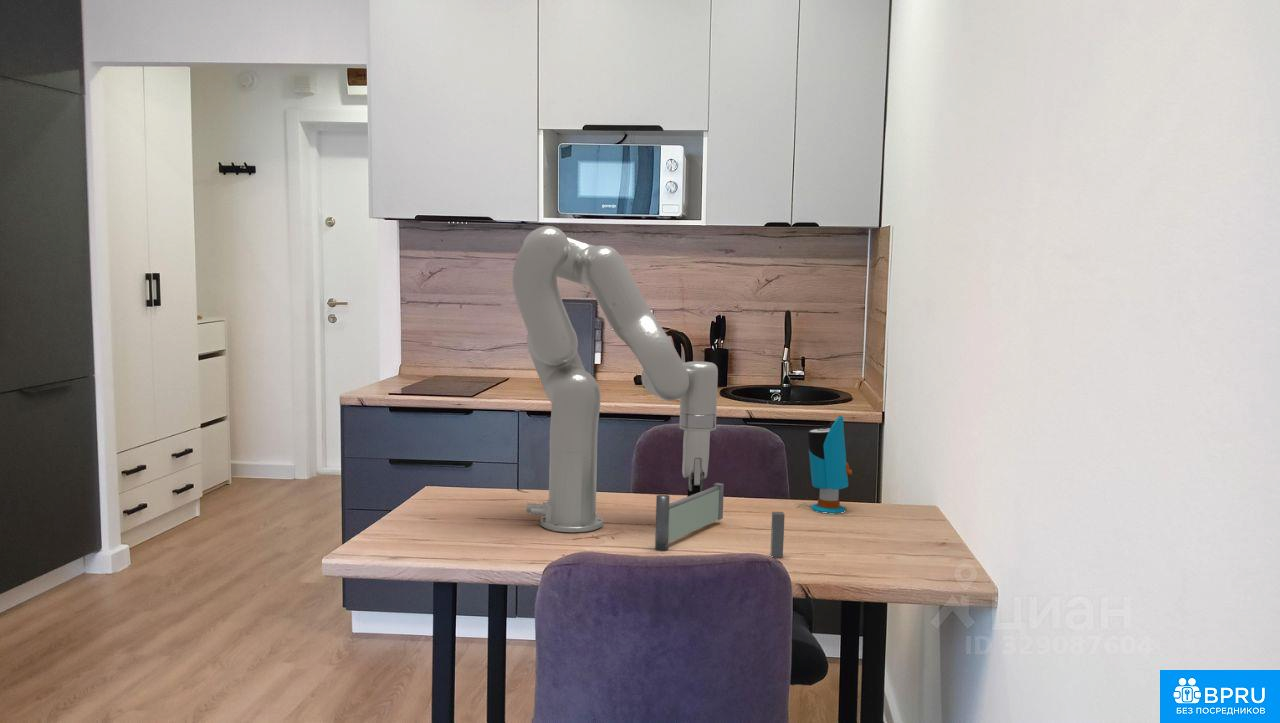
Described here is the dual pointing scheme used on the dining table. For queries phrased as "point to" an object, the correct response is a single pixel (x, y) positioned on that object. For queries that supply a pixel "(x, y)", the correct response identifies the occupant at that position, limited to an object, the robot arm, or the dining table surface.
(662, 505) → the gate frame
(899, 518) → the dining table surface
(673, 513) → the gate
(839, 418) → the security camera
